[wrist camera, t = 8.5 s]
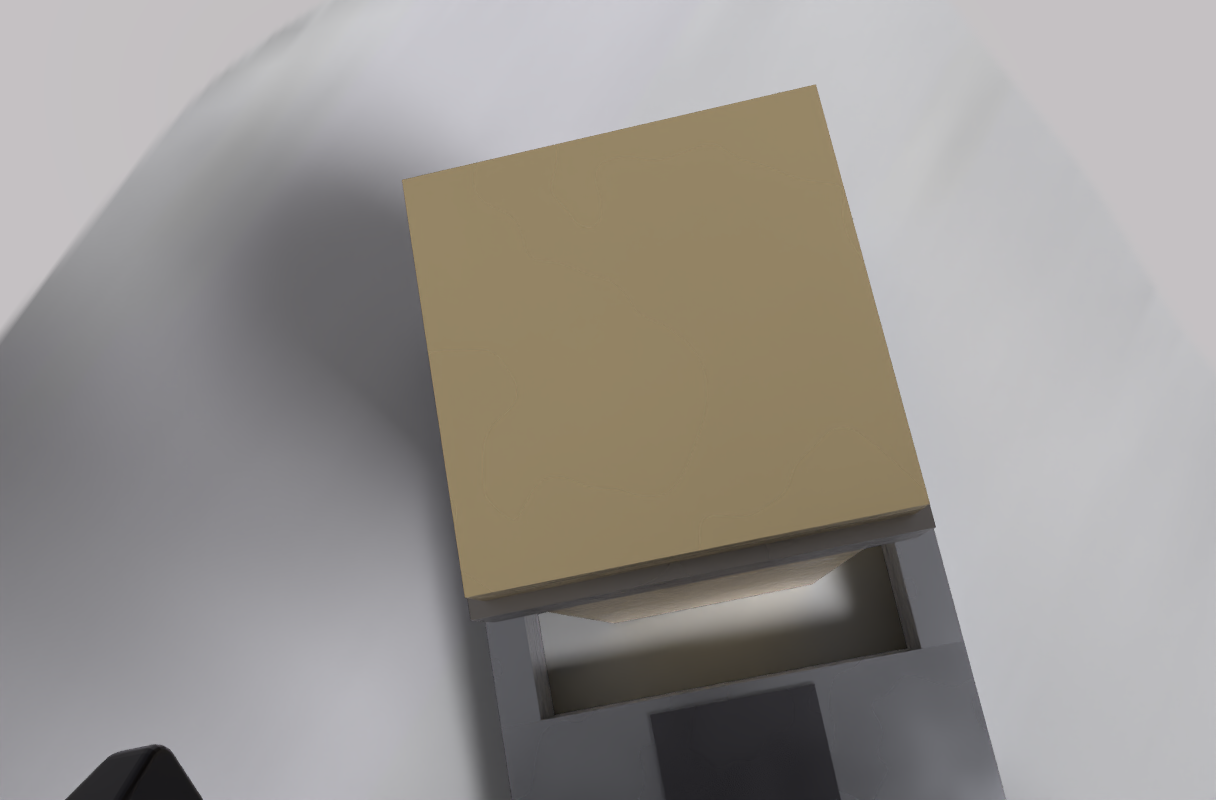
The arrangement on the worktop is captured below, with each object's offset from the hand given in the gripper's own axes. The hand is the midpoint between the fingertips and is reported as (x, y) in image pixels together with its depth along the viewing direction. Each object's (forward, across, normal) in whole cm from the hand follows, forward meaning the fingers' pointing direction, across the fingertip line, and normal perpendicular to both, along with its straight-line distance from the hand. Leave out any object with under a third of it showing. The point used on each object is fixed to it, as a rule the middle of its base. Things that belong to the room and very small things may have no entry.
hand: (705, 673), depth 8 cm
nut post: (+11, 0, +6) cm, 12 cm away
